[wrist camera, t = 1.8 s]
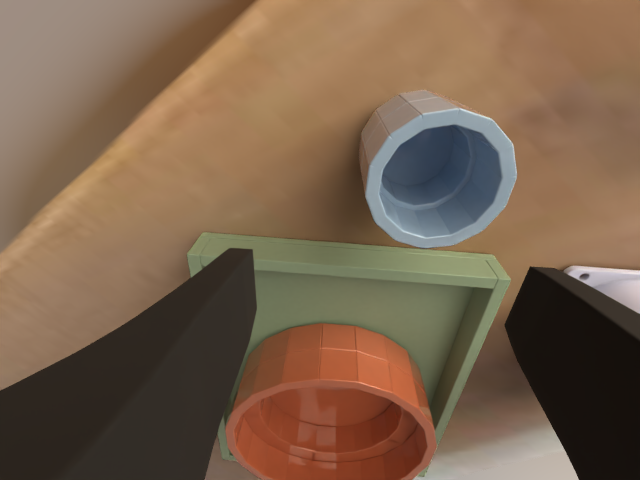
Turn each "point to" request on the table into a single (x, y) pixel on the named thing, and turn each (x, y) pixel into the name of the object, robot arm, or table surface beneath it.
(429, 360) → the tray
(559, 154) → the table surface
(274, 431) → the big bowl
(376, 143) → the pale blue cup
